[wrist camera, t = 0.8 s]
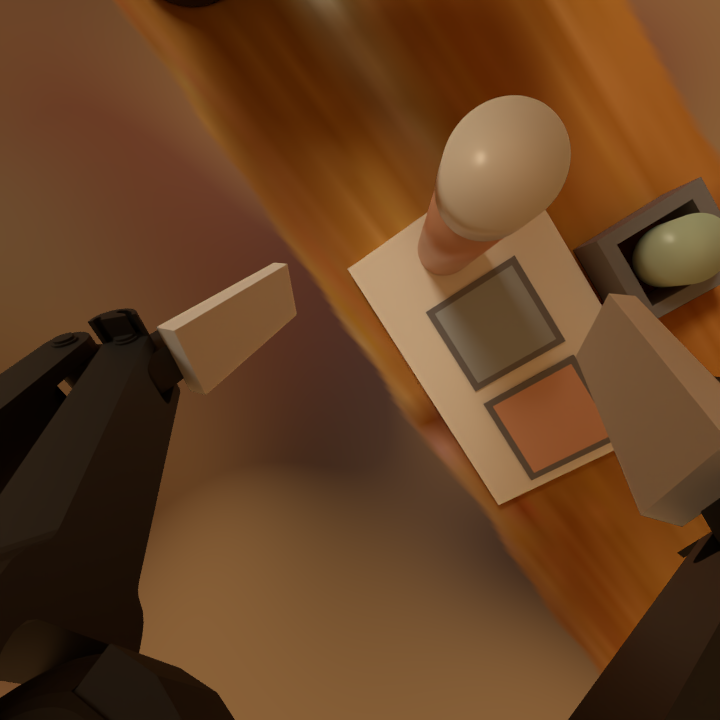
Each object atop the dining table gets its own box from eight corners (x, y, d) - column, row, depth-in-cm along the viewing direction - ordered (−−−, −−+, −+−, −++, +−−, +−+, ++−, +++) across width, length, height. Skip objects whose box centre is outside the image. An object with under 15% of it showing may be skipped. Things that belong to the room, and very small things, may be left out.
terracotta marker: (438, 205, 25) (490, 69, 12) (487, 236, 25) (599, 137, 11) (405, 257, 26) (417, 188, 12) (452, 287, 26) (516, 252, 12)
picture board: (349, 271, 28) (347, 268, 27) (506, 160, 25) (513, 150, 24) (494, 497, 30) (499, 506, 28) (658, 418, 27) (672, 424, 25)
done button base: (573, 250, 26) (596, 241, 23) (663, 194, 24) (701, 176, 21) (616, 324, 26) (645, 325, 23) (707, 274, 25) (750, 267, 22)
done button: (620, 247, 23) (641, 240, 21) (684, 208, 22) (712, 197, 20) (650, 299, 23) (674, 297, 21) (714, 263, 22) (745, 258, 20)
